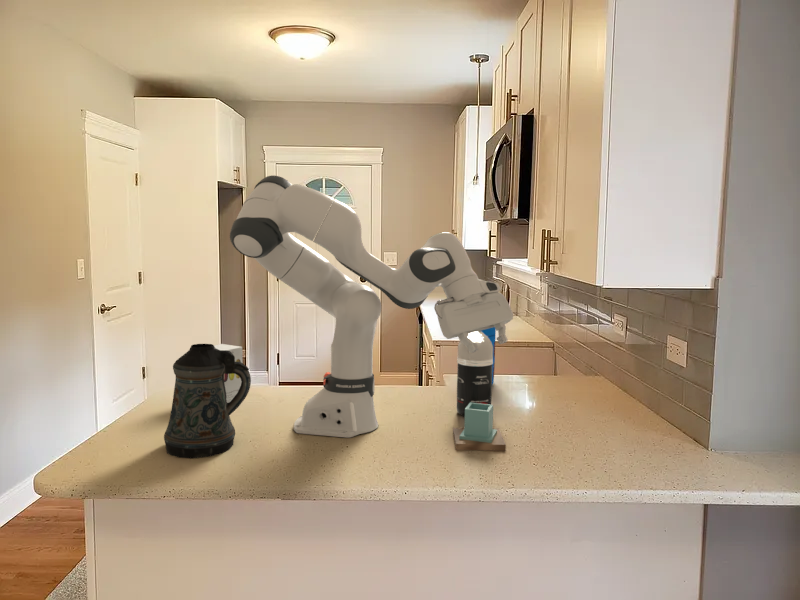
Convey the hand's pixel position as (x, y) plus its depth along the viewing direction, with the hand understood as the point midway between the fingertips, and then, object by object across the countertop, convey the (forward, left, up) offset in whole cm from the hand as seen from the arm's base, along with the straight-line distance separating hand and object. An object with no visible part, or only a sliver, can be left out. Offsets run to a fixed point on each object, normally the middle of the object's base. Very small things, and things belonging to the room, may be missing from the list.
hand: (489, 346), depth 143 cm
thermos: (+5, +67, -26) cm, 72 cm away
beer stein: (-68, +2, -26) cm, 73 cm away
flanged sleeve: (-1, +8, -24) cm, 26 cm away
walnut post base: (-1, +8, -26) cm, 27 cm away
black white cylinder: (0, +31, -26) cm, 40 cm away
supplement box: (-76, +39, -26) cm, 89 cm away
